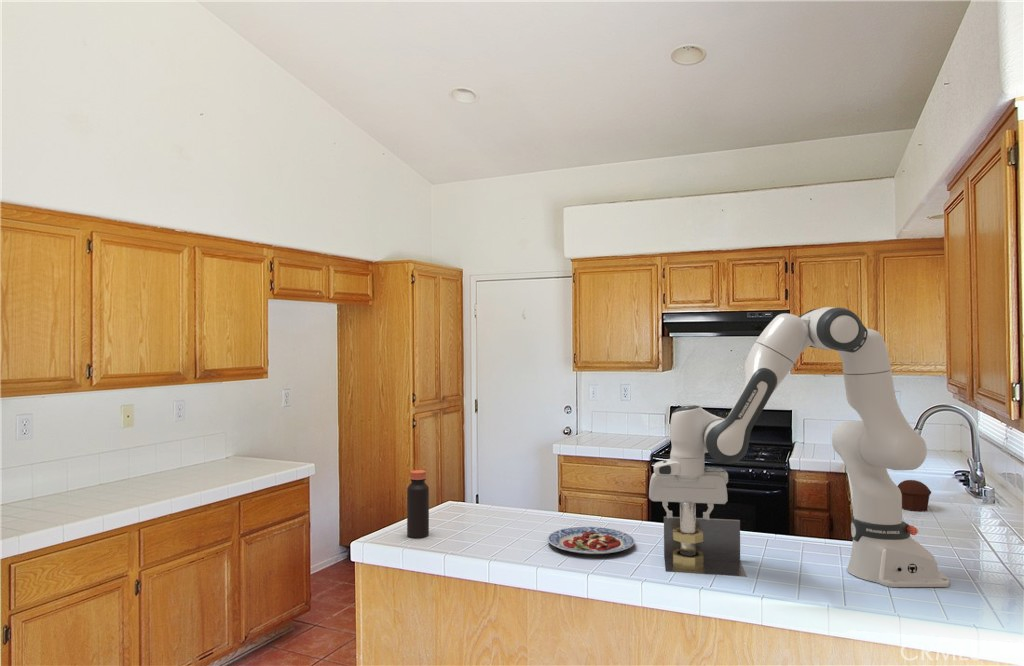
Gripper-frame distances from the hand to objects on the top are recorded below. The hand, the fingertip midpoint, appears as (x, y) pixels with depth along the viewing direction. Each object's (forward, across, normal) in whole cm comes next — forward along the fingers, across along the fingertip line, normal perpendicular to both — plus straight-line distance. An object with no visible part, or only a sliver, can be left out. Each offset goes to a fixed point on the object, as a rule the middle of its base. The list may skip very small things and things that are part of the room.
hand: (687, 518), depth 175 cm
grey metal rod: (+12, 0, 0) cm, 12 cm away
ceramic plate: (+14, +27, -16) cm, 34 cm away
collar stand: (+13, -4, 0) cm, 14 cm away
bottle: (+13, +81, -16) cm, 84 cm away
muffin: (+14, -84, -81) cm, 117 cm away
